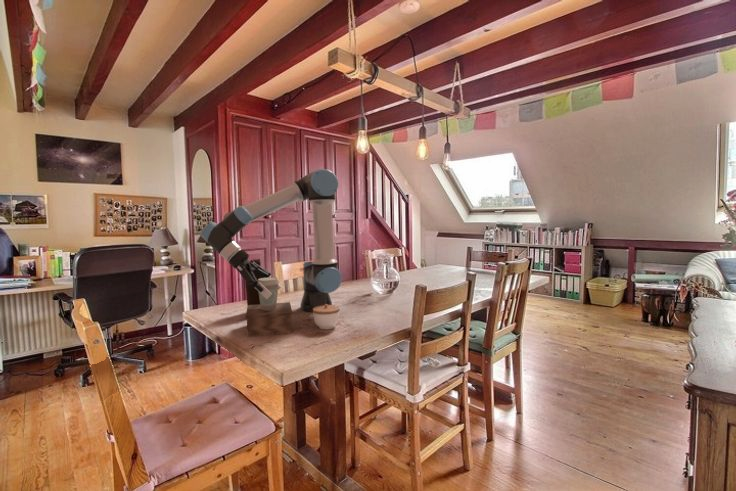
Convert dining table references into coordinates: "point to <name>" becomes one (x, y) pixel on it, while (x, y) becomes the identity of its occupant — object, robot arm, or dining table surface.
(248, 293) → the olive oil
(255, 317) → the walnut stand
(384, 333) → the dining table surface
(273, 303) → the coffee cup
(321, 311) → the lidded jar
